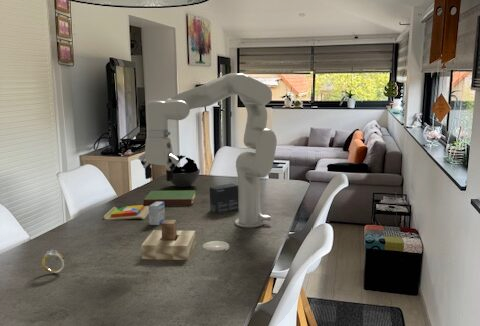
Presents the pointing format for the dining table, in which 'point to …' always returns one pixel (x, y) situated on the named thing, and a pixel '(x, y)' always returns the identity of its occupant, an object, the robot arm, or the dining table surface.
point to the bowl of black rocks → (185, 173)
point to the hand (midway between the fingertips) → (159, 179)
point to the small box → (224, 198)
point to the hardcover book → (171, 198)
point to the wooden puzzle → (127, 212)
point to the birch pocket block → (168, 246)
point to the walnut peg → (169, 230)
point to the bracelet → (53, 252)
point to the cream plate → (216, 246)
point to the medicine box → (156, 213)
